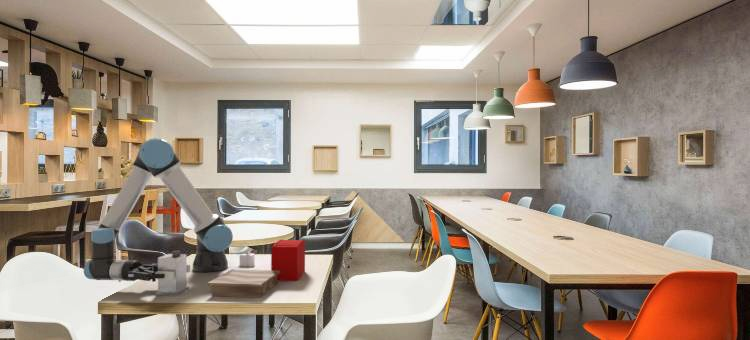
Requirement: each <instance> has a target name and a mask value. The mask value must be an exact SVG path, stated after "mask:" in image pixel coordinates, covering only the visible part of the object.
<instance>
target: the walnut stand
mask: <svg viewBox="0 0 750 340" xmlns="http://www.w3.org/2000/svg"><path fill="white" fill-rule="evenodd" d="M279 273H280V271H276V270H271V269H270V270H269V269H239V268H237V269H234V268H233V269H231V270H228V271H227V272H225V273H223V274H221V275H219V276H218V277H216V278H213V279H212V280H210V281H208V282H207V285H208V286H211V296H212V297H231V298H232V297H233V298H235V297H236V298H238V297H239V298H261V297H262V296H263V295H264V294H266V293H267V292H268V291H270V290H271V289H272V288H273V287H274V286H276V285H277V284H278V281H277V274H279Z"/></svg>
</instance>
